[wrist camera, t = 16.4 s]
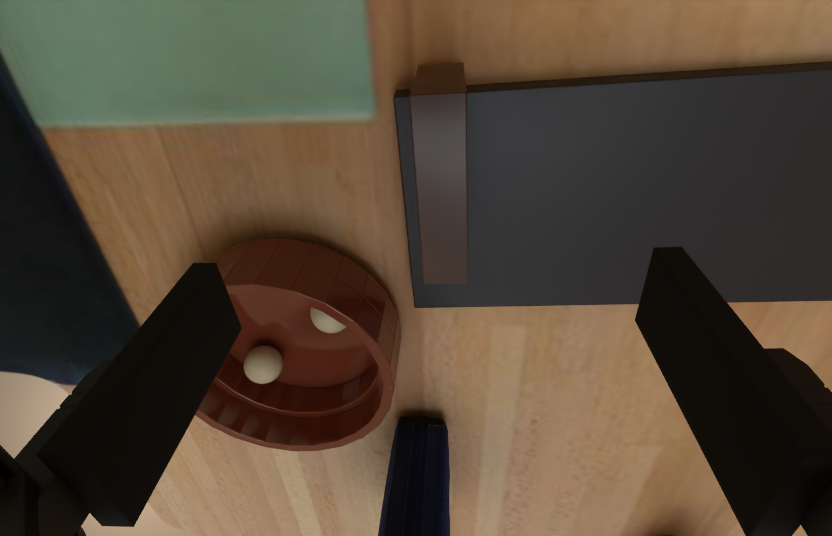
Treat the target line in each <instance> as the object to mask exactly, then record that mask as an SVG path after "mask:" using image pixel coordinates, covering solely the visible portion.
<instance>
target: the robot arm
mask: <svg viewBox="0 0 832 536" xmlns="http://www.w3.org/2000/svg"><path fill="white" fill-rule="evenodd" d="M635 321H636V323H637V325H638V327H639V329H640V331H641V333H642V335H643V337H644V339H645V341H646V343H647V345H648V347H649V348H650V350H651V352H652V354H653V356H654V358H655V360H656V362H657V364H658V366H659V368H660V370H661V372H662V374H663V376H664V378H665V380H666V382H667V383H668V385H669V387H670V389H671V391H672V393H673V395H674V397H675V399H676V401H677V403H678V405H679V407H680V409H681V411H682V413H683V415H684V417H685V418H686V420H687V422H688V424H689V426H690V428H691V430H692V432H693V434H694V436H695V438H696V440H697V442H698V444H699V446H700V448H701V450H702V451H703V453H704V455H705V457H706V459H707V461H708V463H709V465H710V467H711V469H712V471H713V473H714V475H715V477H716V479H717V481H718V483H719V485H720V486H721V488H722V490H723V492H724V494H725V496H726V498H727V500H728V502H729V504H730V506H731V508H732V510H733V512H734V514H735V516H736V518H737V520H738V521H739V523H740V525H741V527H742V529H743V531H744V533H745V535H746V536H792V535H793V534H794V532H795V531H796V530H797V529H798V527H799V526H800V525H802V527H803V529H804V530H805V532H806V534H807V535H808V536H832V392H831V391H830V390H829V389H828V388H825V387H824V383H823V382H822V381H821V380H820V379H819V377H818V376H817V375H816V374H815V373H814V372H813V371H812V369H811V368H810V367H809V366H808V365H807V364H805V363H804V362H803V361H801V360H800V359H798V358H797V357H795V356H794V355H792V354H791V353H789V352H788V351H786V350H785V349H784V348H777V349H764V348H763V347H762V346H761V344H760V343H759V342H758V341H757V339H756V338H755V337H754V336H753V334H752V333H751V332H750V331H749V329H748V328H747V327H746V326H745V325H744V323H743V322H742V321H741V320H740V318H739V317H738V316H737V315H736V313H735V312H734V311H733V310H732V308H731V307H730V306H729V305H728V303H727V302H726V301H725V300H724V298H723V297H722V296H721V295H720V293H719V292H718V291H717V290H716V288H715V287H714V286H713V285H712V283H711V282H710V281H709V280H708V279H707V277H706V276H705V275H704V274H703V272H702V271H701V270H700V269H699V267H698V266H697V265H696V264H695V262H694V261H693V260H692V259H691V257H690V256H689V255H688V254H687V252H686V251H685V250H684V249H683V247H682V246H681V247H654V248H653V252H652V256H651V260H650V264H649V268H648V272H647V276H646V279H645V283H644V287H643V291H642V295H641V299H640V303H639V307H638V310H637V314H636V318H635ZM241 329H242V327H241V324H240V322H239V319H238V317H237V314H236V312H235V309H234V306H233V304H232V301H231V299H230V296H229V294H228V291H227V289H226V286H225V284H224V281H223V278H222V276H221V273H220V271H219V268H218V266H217V263H193V264H192V265H191V266H190V268H189V269H188V270H187V271H186V272H185V274H184V275H183V276H182V277H181V278H180V280H179V281H178V282H177V283H176V285H175V286H174V287H173V288H172V289H171V291H170V292H169V293H168V294H167V296H166V297H165V298H164V299H163V300H162V302H161V303H160V304H159V305H158V306H157V308H156V309H155V310H154V311H153V313H152V314H151V315H150V316H149V317H148V319H147V320H146V321H145V322H144V324H143V325H142V326H141V327H140V328H139V330H138V331H137V332H136V333H135V335H134V336H133V337H132V338H131V339H130V341H129V342H128V343H127V344H126V345H125V347H124V348H123V349H122V350H121V352H120V353H119V354H118V355H117V356H116V358H115V359H114V360H105V361H104V362H103V363H101V364H100V365H99V366H97V367H96V368H95V369H93V370H92V371H91V372H89V373H88V374H87V375H86V376H85V377H84V378H83V379H82V380H81V381H80V383H79V384H78V385H77V386H76V387H75V388H74V390H73V391H72V395H69V396H68V397H67V398H66V399H65V400H64V401H63V402H62V404H61V405H60V409H57V410H56V411H55V412H54V413H53V414H52V415H51V417H50V418H49V419H48V420H47V421H46V422H45V424H44V425H43V426H42V427H41V428H40V430H39V431H38V432H37V433H36V434H35V435H34V436H33V438H32V439H31V440H30V441H29V442H28V443H27V445H26V446H25V447H24V448H23V449H22V450H21V452H20V453H19V454H18V455H17V456H16V457H15V459H13V458H12V457H11V455H10V454H8V452H6V450H5V449H4V448H3V447H2V446H1V445H0V536H86V534H85V532H84V530H83V529H82V527H81V525H82V524H83V522H84V521H85V519H86V517H87V516H88V514H89V513H91V514H92V516H93V517H94V518H95V519H96V520H97V521H98V522H99V523H100V524H101V525H102V526H127V527H128V526H129V527H134V525H135V523H136V521H137V520H138V518H139V516H140V514H141V512H142V511H143V509H144V507H145V505H146V503H147V501H148V500H149V498H150V496H151V494H152V492H153V490H154V489H155V487H156V485H157V483H158V481H159V479H160V478H161V476H162V474H163V472H164V470H165V468H166V467H167V465H168V463H169V461H170V459H171V458H172V456H173V454H174V452H175V450H176V448H177V447H178V445H179V443H180V441H181V439H182V437H183V436H184V434H185V432H186V430H187V428H188V426H189V425H190V423H191V421H192V419H193V417H194V415H195V414H196V412H197V410H198V408H199V406H200V404H201V403H202V401H203V399H204V397H205V395H206V394H207V392H208V390H209V388H210V386H211V384H212V383H213V381H214V379H215V377H216V375H217V373H218V372H219V370H220V368H221V366H222V364H223V362H224V361H225V359H226V357H227V355H228V353H229V351H230V350H231V348H232V346H233V344H234V342H235V340H236V339H237V337H238V335H239V333H240V331H241Z"/></svg>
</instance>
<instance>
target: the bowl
mask: <svg viewBox="0 0 832 536" xmlns="http://www.w3.org/2000/svg"><path fill="white" fill-rule="evenodd" d="M207 263H217V266H218V268H219V271H220V273H221V276H222V278H223V281H224V284H225V286H226V289H227V291H228V294H229V296H230V299H231V301H232V304H233V306H234V309H235V312H236V314H237V317H238V319H239V322H240V324H241V327H242V329H241V331H240V333H239V335H238V337H237V339H236V340H235V342H234V344H233V346H232V348H231V350H230V351H229V353H228V355H227V357H226V359H225V361H224V362H223V364H222V366H221V368H220V370H219V372H218V373H217V375H216V377H215V379H214V381H213V383H212V384H211V386H210V388H209V390H208V392H207V394H206V395H205V397H204V399H203V401H202V403H201V404H200V406H199V408H198V410H197V412H196V414H195V415H196V416H197V417H199V418H200V419H202V420H203V421H205V422H206V423H207V424H209V425H210V426H212V427H214V428H216V429H218V430H220V431H222V432H224V433H226V434H228V435H231V436H233V437H235V438H238V439H240V440H244V441H247V442H250V443H253V444H257V445H260V446H264V447H269V448H276V449H282V450H289V451H319V450H324V449H330V448H336V447H341V446H344V445H346V444H348V443H351V442H353V441H356V440H358V439H361V438H363V437H364V436H365V435H367V434H368V433H369V432H371V431H372V430H373V429H375V428H376V427H377V426H379V424H380V423H381V421H382V420H383V418H384V417H385V415H386V414H387V412H388V411H389V409H390V408H391V403H392V398H393V393H394V387H395V380H396V372H397V365H398V357H399V350H400V343H401V331H400V325H399V318H398V314H397V312H396V310H395V308H394V306H393V304H392V302H391V300H390V298H389V296H388V294H387V292H386V291H385V290H384V289H383V288H382V287H381V286H380V285H379V284H378V283H377V281H376V280H375V279H374V278H373V277H372V276H371V275H370V274H369V273H368V272H367V271H365V270H364V269H363V268H362V267H361V266H359V265H358V264H357V263H355V262H354V261H353V260H351V259H349V258H348V257H346V256H344V255H343V254H341V253H338V252H336V251H334V250H332V249H330V248H327V247H324V246H321V245H318V244H315V243H311V242H306V241H302V240H293V239H284V238H283V239H282V238H279V239H261V240H251V241H248V242H245V243H242V244H239V245H236V246H233V247H229V248H227V249H225V250H224V251H222V252H221V253H219V254H218V255H217V256H215V257H214V258H212V259H211V260H210V261H208V262H207ZM311 307H312V308H314V309H317V310H320V311H322V312H324V313H325V314H327V315H329V316H330V317H332V318H333V319H335V320H337V321H338V322H340V323H341V324H343V325H345V326H346V328H344V329H343V330H341V331H339V332H336V333H326V332H323V331H321V330H319V329H318V328H317V327H316V326H315V325H314V323H313V322H312V319H311V314H310V311H311ZM259 346H271V347H273V348H275V349H276V350H277V351H279V353H280V354H281V356H282V359H283V368H282V371H281V373H280V374H279V376H278V377H277V378H276V379H275V380H273V381H271V382H269V383H265V384H259V383H255V382H253V381H251V380H250V379H249V378H248V377H247V376H246V374H245V371H244V360H245V358H246V356H247V354H248V353H249V352H250V351H251V350H252V349H254V348H256V347H259Z"/></svg>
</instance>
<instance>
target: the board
mask: <svg viewBox="0 0 832 536" xmlns="http://www.w3.org/2000/svg"><path fill="white" fill-rule="evenodd" d="M410 92H411V89H405V90H397V91H396V93H395V95H394V108H395V118H396V128H397V138H398V148H399V158H400V167H401V177H402V187H403V197H404V207H405V217H406V227H407V237H408V247H409V257H410V267H411V276H412V286H413V296H414V306H415V308H435V307H492V306H549V305H606V304H639V303H640V299H641V295H642V291H643V287H644V283H645V279H646V276H647V272H648V268H649V264H650V260H651V256H652V252H653V248H654V247H681V246H682V247H683V249H684V250H685V251H686V252H687V254H688V255H689V256H690V257H691V259H692V260H693V261H694V262H695V264H696V265H697V266H698V267H699V269H700V270H701V271H702V272H703V274H704V275H705V276H706V277H707V279H708V280H709V281H710V282H711V283H712V285H713V286H714V287H715V288H716V290H717V291H718V292H719V293H720V295H721V296H722V297H723V298H724V300H725V301H726V302H778V301H832V62H820V63H804V64H789V65H774V66H758V67H743V68H727V69H712V70H697V71H681V72H666V73H651V74H635V75H620V76H605V77H589V78H574V79H558V80H543V81H528V82H512V83H497V84H482V85H466V93H467V204H468V283H450V284H424V283H423V271H422V258H421V245H420V232H419V219H418V206H417V193H416V180H415V167H414V154H413V141H412V128H411V115H410V102H409V95H410Z"/></svg>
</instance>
